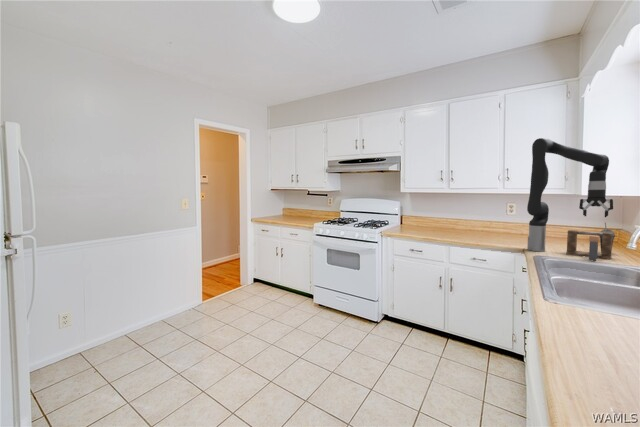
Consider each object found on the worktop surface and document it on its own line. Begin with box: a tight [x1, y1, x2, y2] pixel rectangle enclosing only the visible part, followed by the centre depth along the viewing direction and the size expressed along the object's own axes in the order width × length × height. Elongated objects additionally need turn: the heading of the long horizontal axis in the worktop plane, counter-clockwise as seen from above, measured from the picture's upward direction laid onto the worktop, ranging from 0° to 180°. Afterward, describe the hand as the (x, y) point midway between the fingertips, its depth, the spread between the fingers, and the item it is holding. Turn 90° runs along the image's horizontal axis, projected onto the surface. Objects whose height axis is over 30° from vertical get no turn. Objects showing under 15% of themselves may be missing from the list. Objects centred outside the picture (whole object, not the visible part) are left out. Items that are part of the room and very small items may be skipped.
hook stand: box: [565, 229, 613, 260], centre depth 180 cm, size 20×10×15 cm, turn 42°
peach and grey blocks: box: [588, 235, 600, 262], centre depth 170 cm, size 4×9×14 cm, turn 132°
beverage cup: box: [599, 221, 616, 253], centre depth 186 cm, size 7×7×20 cm
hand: (595, 216), depth 169 cm, fingers open, 8 cm apart
